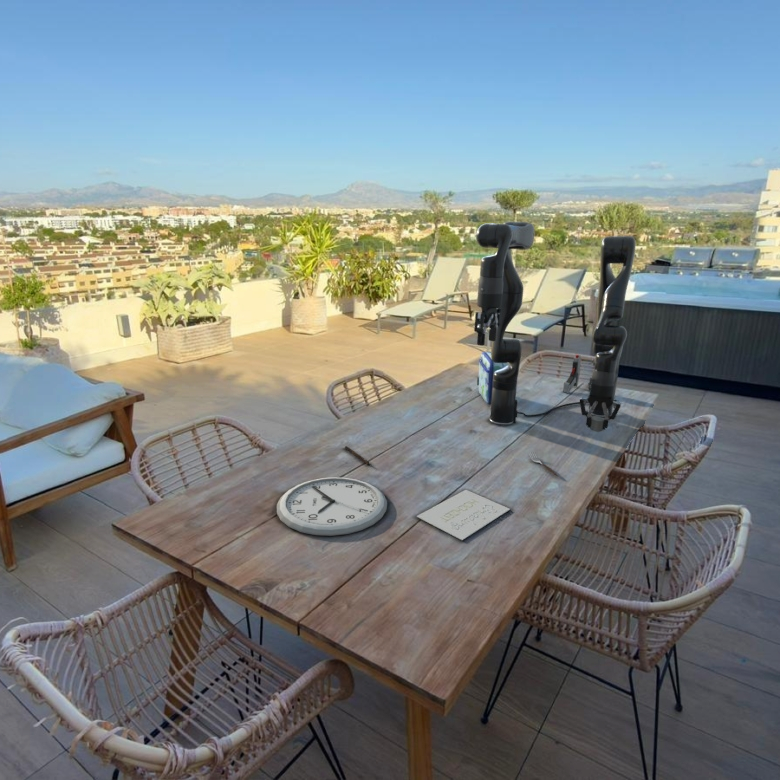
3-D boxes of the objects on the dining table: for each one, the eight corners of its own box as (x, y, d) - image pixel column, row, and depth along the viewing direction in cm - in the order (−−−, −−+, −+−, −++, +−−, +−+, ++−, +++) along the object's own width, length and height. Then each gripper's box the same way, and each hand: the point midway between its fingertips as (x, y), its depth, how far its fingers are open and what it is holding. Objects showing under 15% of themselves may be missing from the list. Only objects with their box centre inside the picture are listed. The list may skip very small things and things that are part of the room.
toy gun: (565, 361, 240) (576, 353, 251) (562, 394, 245) (573, 384, 257) (571, 362, 238) (581, 354, 249) (567, 395, 244) (578, 385, 255)
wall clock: (392, 527, 129) (268, 531, 127) (391, 533, 130) (269, 537, 127) (383, 473, 158) (282, 475, 155) (383, 478, 158) (282, 480, 156)
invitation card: (465, 489, 152) (510, 508, 142) (465, 490, 152) (510, 509, 142) (416, 515, 137) (462, 539, 127) (416, 516, 138) (462, 540, 127)
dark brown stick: (344, 448, 179) (344, 445, 179) (346, 448, 179) (346, 445, 179) (367, 464, 167) (367, 462, 167) (368, 464, 167) (368, 461, 167)
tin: (602, 432, 184) (604, 421, 183) (588, 430, 186) (590, 419, 185) (603, 428, 188) (605, 417, 187) (590, 425, 190) (591, 415, 189)
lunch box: (475, 390, 246) (478, 346, 240) (498, 390, 246) (501, 347, 240) (484, 408, 221) (487, 360, 215) (509, 409, 221) (513, 360, 215)
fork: (554, 478, 160) (554, 472, 160) (527, 457, 175) (528, 451, 174) (561, 477, 161) (562, 471, 160) (534, 456, 175) (535, 450, 175)
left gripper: (492, 294, 154) (488, 348, 159) (510, 290, 165) (506, 340, 170) (469, 292, 158) (465, 345, 163) (488, 288, 169) (485, 337, 174)
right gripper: (625, 382, 182) (618, 427, 187) (582, 376, 188) (576, 421, 193) (625, 387, 176) (617, 434, 181) (580, 382, 181) (574, 428, 186)
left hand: (486, 342), depth 166 cm, fingers open, 8 cm apart
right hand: (596, 427), depth 187 cm, fingers closed on tin, 4 cm apart
